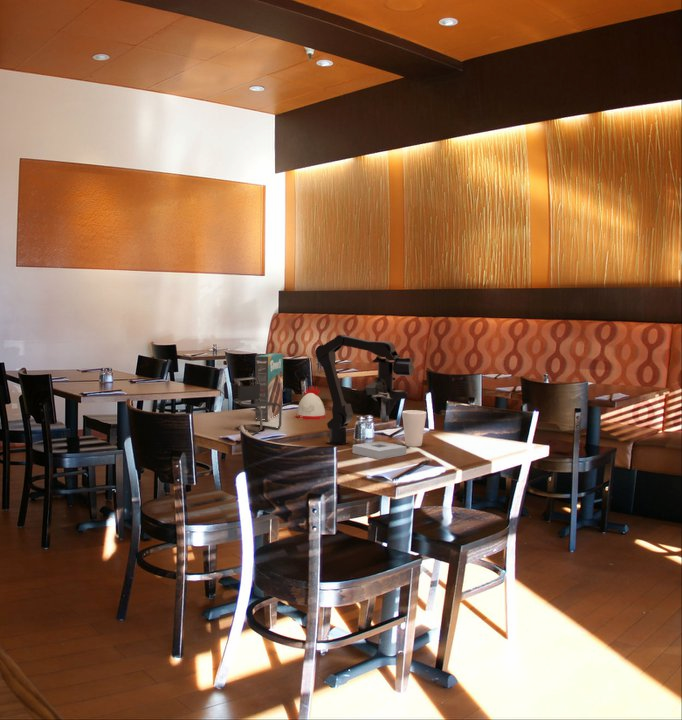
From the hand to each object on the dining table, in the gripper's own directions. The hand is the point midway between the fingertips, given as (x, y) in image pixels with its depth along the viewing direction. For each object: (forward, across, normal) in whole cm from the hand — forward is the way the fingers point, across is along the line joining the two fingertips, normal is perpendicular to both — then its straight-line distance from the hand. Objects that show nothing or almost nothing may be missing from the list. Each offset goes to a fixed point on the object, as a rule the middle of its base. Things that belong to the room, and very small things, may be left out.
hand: (384, 415), depth 292 cm
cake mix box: (+13, -85, +6) cm, 86 cm away
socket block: (+12, +8, -10) cm, 18 cm away
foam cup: (+13, +3, +13) cm, 19 cm away
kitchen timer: (+13, -76, +24) cm, 81 cm away
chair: (+13, -61, -17) cm, 65 cm away
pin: (+2, 0, 0) cm, 2 cm away
